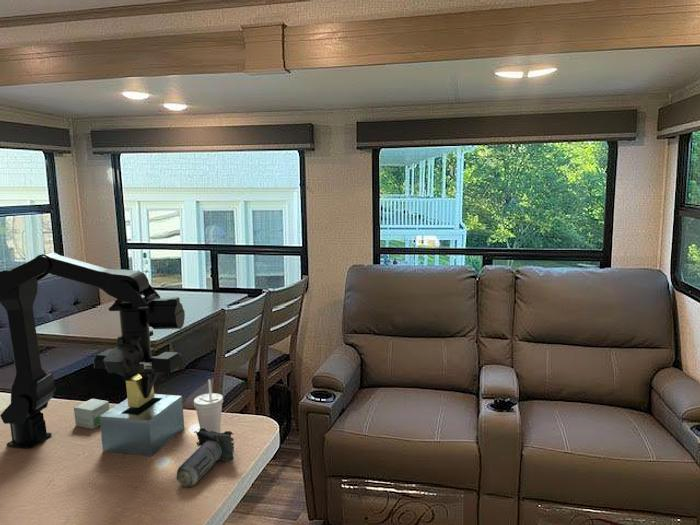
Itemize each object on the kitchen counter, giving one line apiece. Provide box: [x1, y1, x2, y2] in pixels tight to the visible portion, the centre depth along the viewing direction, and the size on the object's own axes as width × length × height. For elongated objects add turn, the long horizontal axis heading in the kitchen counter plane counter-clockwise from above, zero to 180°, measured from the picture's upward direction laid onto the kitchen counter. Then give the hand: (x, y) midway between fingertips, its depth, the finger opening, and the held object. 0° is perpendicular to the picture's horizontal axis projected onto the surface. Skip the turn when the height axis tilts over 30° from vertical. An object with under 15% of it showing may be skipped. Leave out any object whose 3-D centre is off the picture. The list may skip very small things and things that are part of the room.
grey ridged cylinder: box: [176, 427, 235, 488], centre depth 105 cm, size 9×8×12 cm
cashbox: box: [99, 393, 185, 457], centre depth 119 cm, size 12×13×8 cm
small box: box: [73, 398, 110, 430], centre depth 129 cm, size 6×6×5 cm
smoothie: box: [193, 379, 224, 433], centre depth 118 cm, size 6×6×14 cm
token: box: [125, 373, 155, 408], centre depth 118 cm, size 2×6×6 cm, turn 167°
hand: (141, 397), depth 118 cm, fingers closed on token, 2 cm apart
